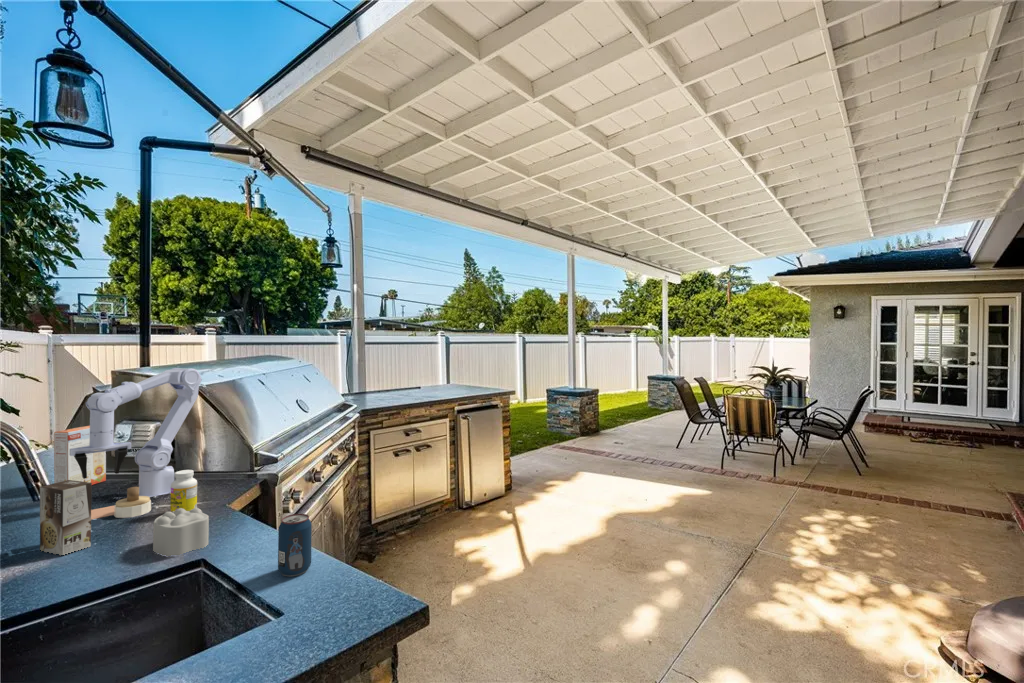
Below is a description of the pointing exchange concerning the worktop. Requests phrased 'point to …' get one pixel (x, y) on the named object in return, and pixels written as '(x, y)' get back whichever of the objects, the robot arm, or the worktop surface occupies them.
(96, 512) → the mat
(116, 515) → the bowl
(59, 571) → the worktop surface
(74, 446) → the cracker box
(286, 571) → the soda can
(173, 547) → the beige bumpy block
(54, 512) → the coffee box
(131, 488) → the bamboo lid
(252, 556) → the worktop surface
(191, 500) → the supplement bottle
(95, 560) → the worktop surface
